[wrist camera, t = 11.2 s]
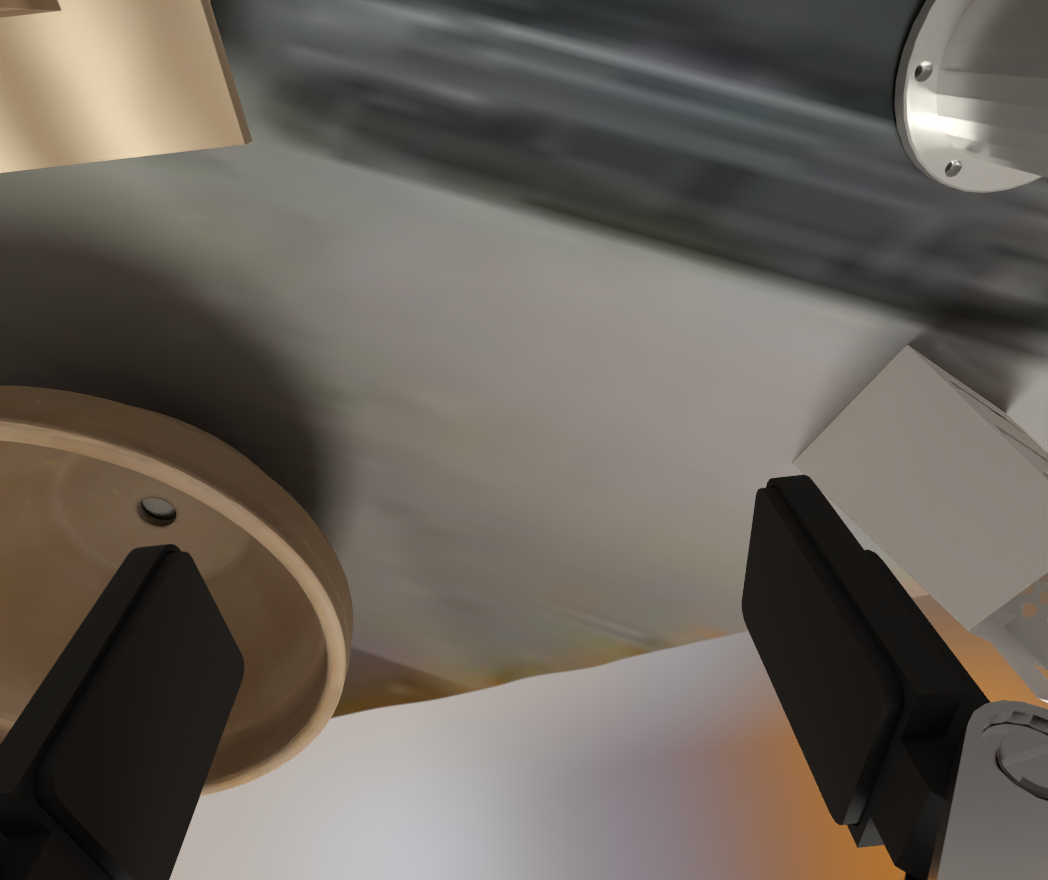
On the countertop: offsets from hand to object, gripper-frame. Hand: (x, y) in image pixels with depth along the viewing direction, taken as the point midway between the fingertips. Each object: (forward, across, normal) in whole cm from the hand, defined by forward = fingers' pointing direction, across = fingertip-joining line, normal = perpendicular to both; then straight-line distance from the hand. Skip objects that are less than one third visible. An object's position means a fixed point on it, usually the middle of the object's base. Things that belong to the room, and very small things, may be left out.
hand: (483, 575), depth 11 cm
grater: (+28, -27, +19) cm, 44 cm away
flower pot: (+28, +24, +17) cm, 41 cm away
